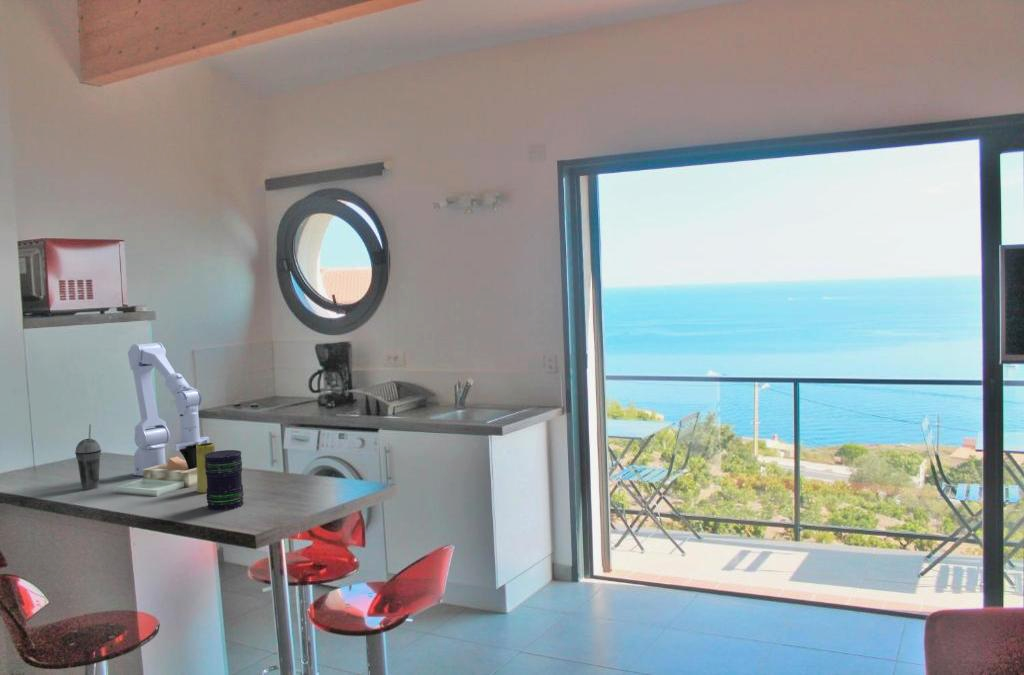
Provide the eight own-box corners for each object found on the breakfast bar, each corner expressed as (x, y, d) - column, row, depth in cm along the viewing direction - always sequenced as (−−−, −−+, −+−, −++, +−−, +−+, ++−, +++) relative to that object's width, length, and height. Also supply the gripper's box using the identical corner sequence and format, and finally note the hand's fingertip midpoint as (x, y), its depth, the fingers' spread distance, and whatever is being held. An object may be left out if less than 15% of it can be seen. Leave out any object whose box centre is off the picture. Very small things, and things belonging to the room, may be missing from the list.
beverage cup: (72, 489, 248) (68, 426, 247) (93, 484, 255) (90, 422, 254) (86, 491, 245) (83, 427, 244) (108, 486, 251) (104, 423, 250)
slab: (166, 466, 258) (169, 458, 257) (174, 464, 261) (177, 456, 261) (189, 481, 255) (191, 473, 254) (197, 479, 258) (199, 471, 258)
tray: (116, 492, 243) (116, 486, 243) (144, 484, 253) (144, 478, 253) (156, 496, 237) (156, 490, 237) (184, 487, 247) (183, 481, 247)
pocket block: (143, 483, 254) (142, 469, 254) (180, 472, 269) (180, 459, 268) (189, 487, 247) (188, 472, 247) (224, 475, 262) (224, 461, 262)
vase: (210, 493, 239) (208, 446, 238) (192, 492, 240) (190, 446, 239) (222, 488, 244) (219, 442, 244) (204, 487, 246) (201, 442, 245)
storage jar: (201, 506, 224) (198, 454, 223) (234, 499, 231) (231, 448, 230) (216, 513, 217) (213, 458, 216) (250, 505, 223) (247, 453, 223)
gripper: (182, 431, 248) (185, 474, 248) (215, 423, 261) (218, 464, 262) (165, 430, 250) (168, 473, 251) (198, 423, 264) (201, 463, 264)
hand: (192, 468), depth 256 cm, fingers closed, pressing on slab
